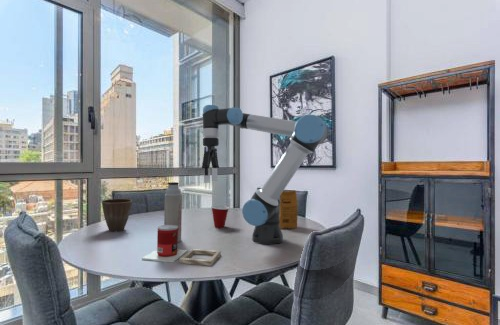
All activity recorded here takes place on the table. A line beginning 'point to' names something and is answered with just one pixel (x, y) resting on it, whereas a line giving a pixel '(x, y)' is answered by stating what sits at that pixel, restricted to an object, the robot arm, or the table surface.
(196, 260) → the square wooden frame
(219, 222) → the plastic cup
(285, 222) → the coffee package
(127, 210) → the plant pot
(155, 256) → the sage pad
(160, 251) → the canned food
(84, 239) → the table surface
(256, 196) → the robot arm
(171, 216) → the thermos bottle
